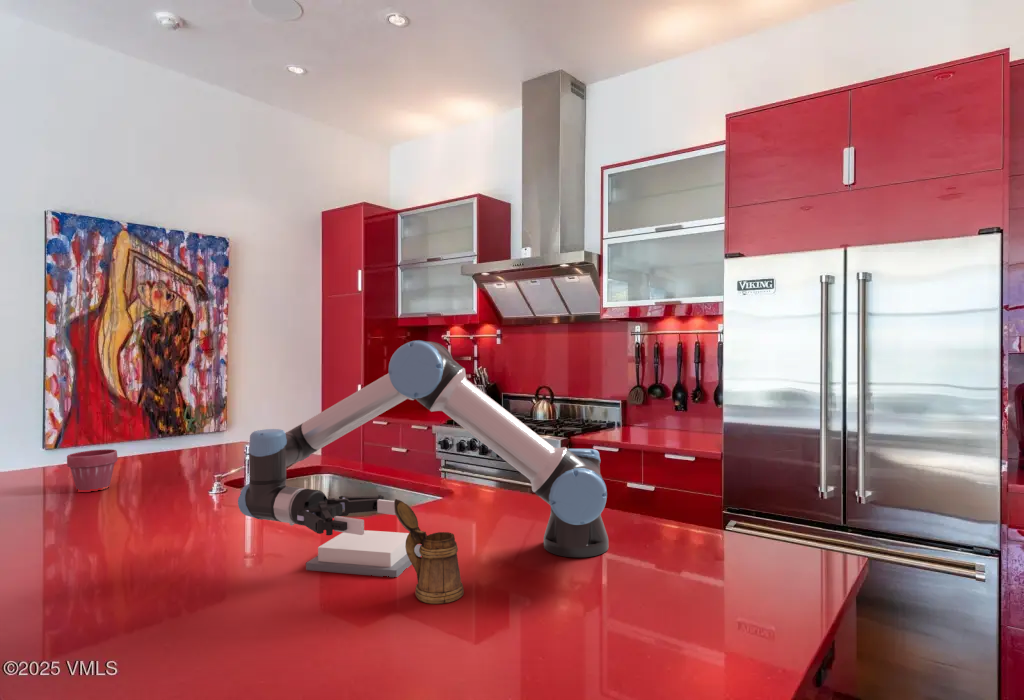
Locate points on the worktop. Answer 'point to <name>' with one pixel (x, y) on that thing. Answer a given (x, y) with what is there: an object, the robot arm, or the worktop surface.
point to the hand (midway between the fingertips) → (384, 517)
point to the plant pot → (92, 468)
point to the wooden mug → (431, 560)
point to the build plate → (362, 567)
